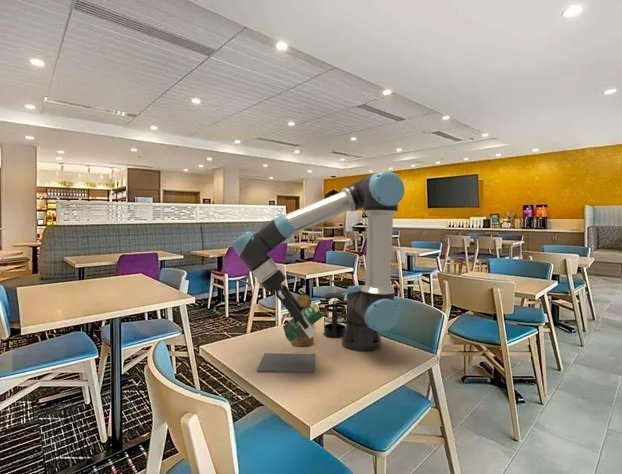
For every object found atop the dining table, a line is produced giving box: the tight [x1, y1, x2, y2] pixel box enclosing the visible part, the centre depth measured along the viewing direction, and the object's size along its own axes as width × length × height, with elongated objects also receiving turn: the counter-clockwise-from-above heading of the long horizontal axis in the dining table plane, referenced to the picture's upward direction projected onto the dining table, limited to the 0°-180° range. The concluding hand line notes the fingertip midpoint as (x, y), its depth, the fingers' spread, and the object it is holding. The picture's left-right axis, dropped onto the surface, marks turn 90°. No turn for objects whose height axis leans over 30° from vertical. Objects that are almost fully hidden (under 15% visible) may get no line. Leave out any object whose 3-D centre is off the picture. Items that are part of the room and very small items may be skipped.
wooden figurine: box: [290, 292, 315, 348], centre depth 138 cm, size 9×14×18 cm, turn 176°
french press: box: [323, 279, 347, 339], centre depth 147 cm, size 12×9×23 cm
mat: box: [256, 352, 316, 374], centre depth 117 cm, size 18×14×1 cm
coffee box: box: [282, 301, 324, 343], centre depth 111 cm, size 8×3×13 cm
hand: (312, 331), depth 111 cm, fingers closed on coffee box, 8 cm apart
